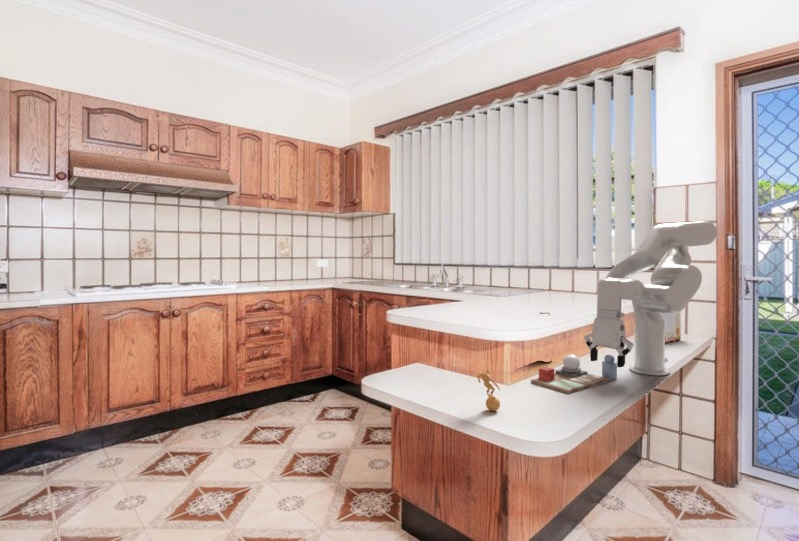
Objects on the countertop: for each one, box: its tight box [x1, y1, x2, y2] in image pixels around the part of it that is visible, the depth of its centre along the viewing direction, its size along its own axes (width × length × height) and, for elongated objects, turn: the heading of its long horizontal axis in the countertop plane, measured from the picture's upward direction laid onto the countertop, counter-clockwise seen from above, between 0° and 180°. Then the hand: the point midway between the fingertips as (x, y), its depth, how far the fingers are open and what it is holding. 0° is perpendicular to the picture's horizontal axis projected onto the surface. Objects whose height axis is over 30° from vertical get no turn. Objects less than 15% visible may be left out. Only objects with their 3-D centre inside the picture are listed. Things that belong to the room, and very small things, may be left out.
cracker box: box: [660, 311, 682, 343], centre depth 207 cm, size 14×6×21 cm, turn 119°
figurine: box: [477, 369, 501, 412], centre depth 121 cm, size 8×6×12 cm
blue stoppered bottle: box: [601, 354, 618, 381], centre depth 150 cm, size 5×5×8 cm
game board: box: [530, 366, 609, 395], centre depth 146 cm, size 22×14×5 cm, turn 124°
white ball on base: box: [561, 354, 582, 373], centre depth 152 cm, size 6×6×6 cm
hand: (606, 363), depth 149 cm, fingers open, 9 cm apart
